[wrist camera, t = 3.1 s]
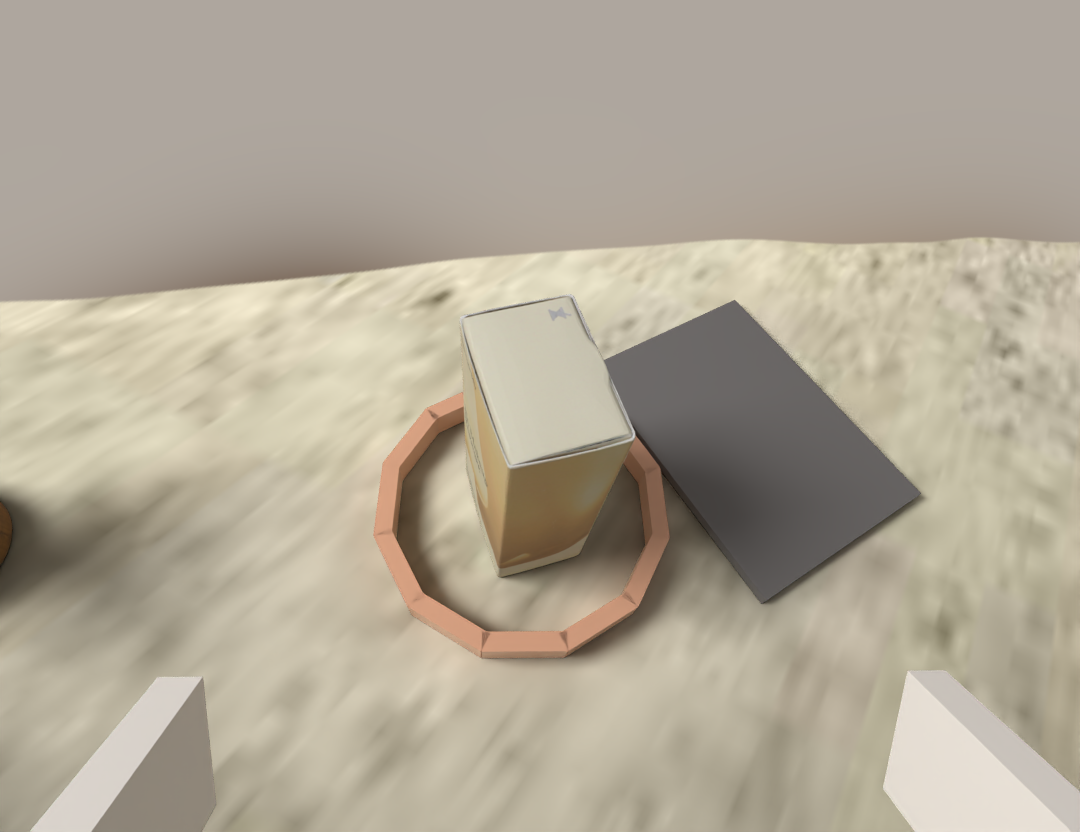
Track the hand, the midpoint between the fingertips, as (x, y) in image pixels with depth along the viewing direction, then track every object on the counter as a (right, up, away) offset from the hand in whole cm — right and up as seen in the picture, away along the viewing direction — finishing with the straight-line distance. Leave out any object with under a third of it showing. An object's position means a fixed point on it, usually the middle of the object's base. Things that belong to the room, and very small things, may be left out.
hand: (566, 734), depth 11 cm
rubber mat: (+11, +5, +22) cm, 25 cm away
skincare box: (-1, +1, +19) cm, 19 cm away
